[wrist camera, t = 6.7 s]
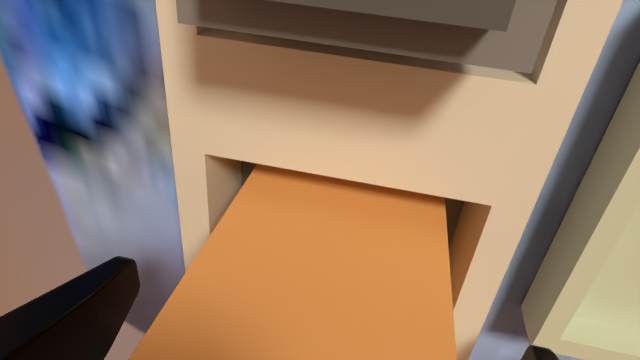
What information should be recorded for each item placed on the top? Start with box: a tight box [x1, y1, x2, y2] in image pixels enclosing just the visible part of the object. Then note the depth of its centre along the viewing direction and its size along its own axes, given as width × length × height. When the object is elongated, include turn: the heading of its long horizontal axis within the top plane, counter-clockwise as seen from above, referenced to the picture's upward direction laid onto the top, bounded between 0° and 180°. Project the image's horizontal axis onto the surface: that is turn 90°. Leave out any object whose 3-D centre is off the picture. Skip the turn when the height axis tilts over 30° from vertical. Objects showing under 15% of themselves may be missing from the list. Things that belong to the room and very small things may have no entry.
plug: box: [129, 164, 457, 360], centre depth 9 cm, size 4×4×8 cm
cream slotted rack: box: [156, 0, 623, 360], centre depth 9 cm, size 8×16×6 cm, turn 175°
